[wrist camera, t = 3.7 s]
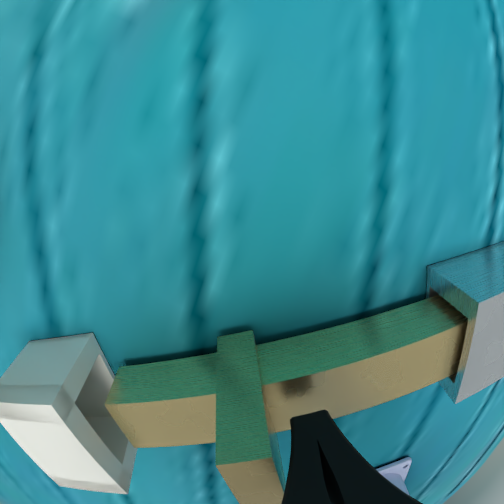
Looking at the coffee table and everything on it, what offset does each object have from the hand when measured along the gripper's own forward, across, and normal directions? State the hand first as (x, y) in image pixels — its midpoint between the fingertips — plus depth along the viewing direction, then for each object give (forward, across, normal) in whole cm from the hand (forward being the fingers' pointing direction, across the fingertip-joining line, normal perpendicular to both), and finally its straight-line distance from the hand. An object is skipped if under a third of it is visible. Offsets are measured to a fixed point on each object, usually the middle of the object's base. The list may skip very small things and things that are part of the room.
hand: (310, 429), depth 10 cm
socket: (+5, +11, 0) cm, 12 cm away
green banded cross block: (+5, -2, 0) cm, 5 cm away
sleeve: (+5, -12, 0) cm, 13 cm away
